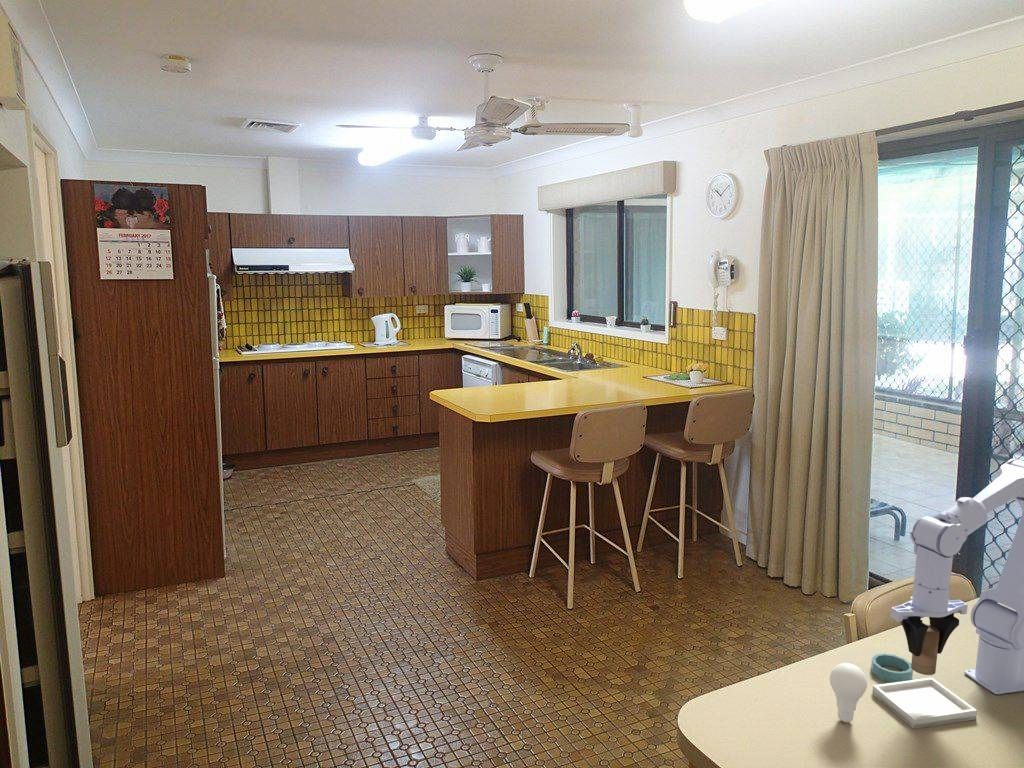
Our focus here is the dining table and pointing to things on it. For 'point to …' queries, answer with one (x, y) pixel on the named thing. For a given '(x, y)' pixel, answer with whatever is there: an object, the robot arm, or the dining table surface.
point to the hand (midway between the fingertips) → (925, 652)
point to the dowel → (927, 653)
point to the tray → (924, 703)
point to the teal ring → (888, 674)
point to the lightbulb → (847, 688)
